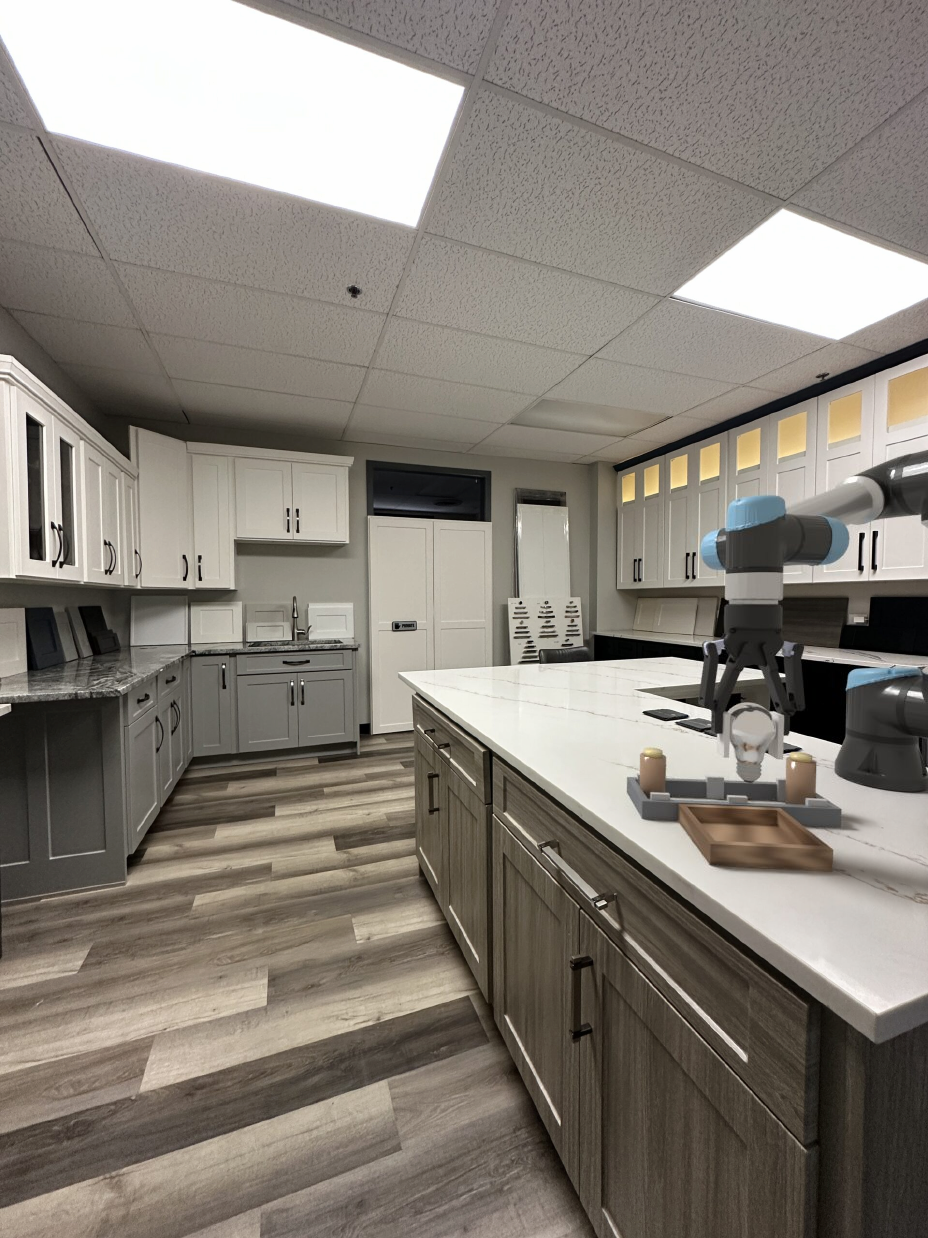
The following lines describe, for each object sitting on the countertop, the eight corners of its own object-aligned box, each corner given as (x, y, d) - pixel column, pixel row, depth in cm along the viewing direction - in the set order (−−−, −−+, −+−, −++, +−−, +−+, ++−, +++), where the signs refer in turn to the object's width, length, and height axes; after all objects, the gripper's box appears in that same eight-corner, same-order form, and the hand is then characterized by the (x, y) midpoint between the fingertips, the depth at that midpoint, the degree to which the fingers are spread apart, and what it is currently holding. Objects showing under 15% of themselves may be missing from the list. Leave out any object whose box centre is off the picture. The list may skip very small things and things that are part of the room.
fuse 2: (806, 806, 91) (807, 751, 91) (820, 817, 87) (822, 759, 86) (780, 805, 91) (781, 750, 91) (793, 816, 87) (794, 758, 87)
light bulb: (783, 792, 73) (785, 708, 72) (730, 788, 74) (731, 706, 74) (765, 775, 79) (766, 699, 79) (716, 772, 81) (718, 697, 80)
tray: (779, 826, 83) (780, 808, 83) (832, 871, 69) (833, 849, 69) (678, 821, 85) (678, 803, 85) (710, 865, 71) (710, 844, 71)
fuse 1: (661, 801, 93) (662, 747, 93) (668, 811, 89) (669, 754, 89) (636, 800, 94) (637, 746, 94) (642, 809, 90) (643, 753, 89)
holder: (800, 798, 95) (800, 777, 94) (841, 827, 83) (841, 803, 83) (626, 792, 98) (627, 771, 98) (642, 818, 86) (642, 795, 86)
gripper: (809, 603, 78) (804, 750, 79) (676, 602, 80) (673, 746, 81) (840, 603, 71) (834, 766, 72) (692, 602, 73) (689, 761, 74)
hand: (749, 755), depth 76 cm, fingers closed on light bulb, 7 cm apart
